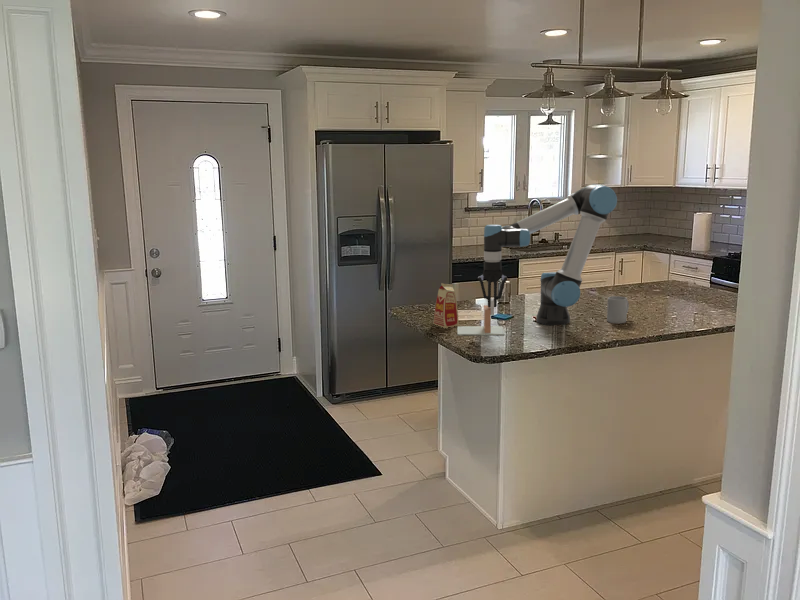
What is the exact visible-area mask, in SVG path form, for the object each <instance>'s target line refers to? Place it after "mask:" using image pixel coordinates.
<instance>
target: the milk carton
mask: <svg viewBox="0 0 800 600" xmlns="http://www.w3.org/2000/svg"><path fill="white" fill-rule="evenodd" d="M440 284H441V286H440V287H439V288H438V291H437V296H436V301H435V307H434V312H433V313H434V314H433V323H432V325H433V324H435V325H438V326H441V327H440V328H442V327H443V328H442V329H445V328H446V329H449V328H448V327H451V328H454V326H455V327H457V326H459V325H460V324H459V322H460V321H459V311H458V302H457V296H456V291H455V289H454V284H448V283H443V282H441V283H440ZM435 325H434V326H435ZM438 326H437V327H438Z"/></svg>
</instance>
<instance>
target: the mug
mask: <svg viewBox="0 0 800 600" xmlns="http://www.w3.org/2000/svg"><path fill="white" fill-rule="evenodd" d="M629 305H630V303H629V301H628V297H626V296H619V295H618V296H617V295H615V296H614V295H612V296H608V297H607V308H606V309H607V312H606V322H607V321H608V322H607V323H611V324H625V323H627V318H628V317H627V315H628V314H627V313H628V312H629V309H630V308H629V307H630V306H629Z"/></svg>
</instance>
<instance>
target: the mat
mask: <svg viewBox="0 0 800 600" xmlns="http://www.w3.org/2000/svg"><path fill="white" fill-rule="evenodd" d="M456 327H457V330H456V331H457V334H456V335H457V336H505V331H504V328H503V326H502V325H500V326H499V325H493V326H492V325H491V333H485V331H484V325H480V326H479V325H475V326H474V325H473V326H470V325H469V326H468V325H467V326H465V325H464V326H463V325H462V326H456Z"/></svg>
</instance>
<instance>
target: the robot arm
mask: <svg viewBox="0 0 800 600" xmlns="http://www.w3.org/2000/svg"><path fill="white" fill-rule="evenodd" d="M617 204H618V196H617V194H616V192H615V190H613V188H611V187H609V186H607V185H602V184H601V185H597V184H590V185H586V186H585V187H582V188H580V189H579V190H576V191H574V192H573V193H571V194H568V195H567V198H566V199H563V200H560V201H559V202H557V203H555V204H552V205H550V206H548V207H546V208H544V209H542V210H540V211H537V212H535V213H534V214H531V215H528V216H526V217H525V218H522V219H520V220H519V221H516V222H514V223H512V224H510V225H505V226H502V225H501V224H486V225H485V226H484V231H483V260H484V261H483V272H482V274H481V275H479V276H478V277H477V280H478V281H479V283H480V284H479V285H480V287H481V291H482V296H483V299H485V300H487V305H488V307H490V309H491V316H494V315H495V308H497V307H498V305H497V302H498V300H499V299H501V298H502V295H503V291H504V287H505V283H506V282H507V280H508V277H507V276H506V275H504V274H503V272H502V250H503V249H502V248H505V247H506V248H507V247H510V248H511V247H516V248H518V247H520V248H522V247H527V246H529V245H530V242H531V234H533V233H535V232H538V231H541V230H542V229H545V228H547V227H549V226H551V225H554V224H556V223H558V222H560V221H562V220H564V219H567V218H568V217H571V216H573V215H576V216H578V215H581V218H580V220H579V223H578V225H577V228H576V230H575V233H574V235H573V237H572V241H571V242H570V246H569V248H568V251H567V253H566V255H565V256H566V257H565V259H564V261H563V264H562V267H561V268H560V269H558V270H557V271H556V272H555V271H554V272H553V271H552V272H550V271H549V272H542V273H541V275H540V280H539V281H540V305H539V308H538V312H537V314H536V320H535V321H536V323H538V324H540V325H541V324H542V325H548V326H563V325H568V324H570V322H571V317H570V313H569V310H568V307H572V306H574V305H575V304H576V303H577V302H578V301H579V299H580V297H581V289H580V287H581V285H582V283H583V279H582V277H581V275H582V272H583V270H584V267H585V265H586V263H587V259H588V257H589V255H590V252H591V250H592V247H593V245H594V242H595V239H596V237H597V235H598V232H599V229H600V228H601V224H602V223H604V222H607V219H608V217H609V214H610V213H611V212H613V211H614V209H616V207H617ZM484 280H485V281H486V282H487V293H486V290H485V289H486V288H485V285H484V282H483V281H484ZM500 280H501V282H500V286H499V290H498V282H499V281H500ZM492 283H493V298H492V297H491V296H492Z"/></svg>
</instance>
